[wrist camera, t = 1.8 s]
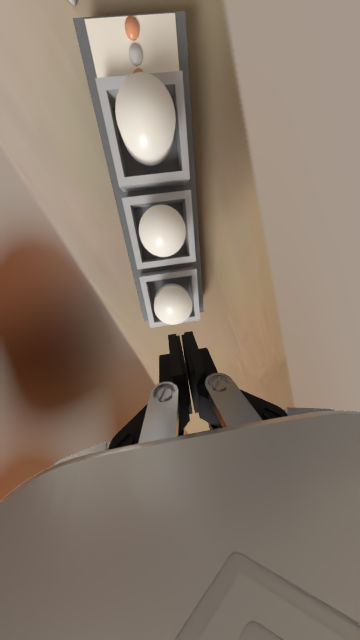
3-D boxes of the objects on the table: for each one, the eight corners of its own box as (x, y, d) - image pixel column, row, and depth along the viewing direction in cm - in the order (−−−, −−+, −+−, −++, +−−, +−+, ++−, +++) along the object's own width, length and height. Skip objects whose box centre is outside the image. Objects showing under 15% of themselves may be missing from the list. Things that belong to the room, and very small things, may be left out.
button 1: (151, 286, 19) (150, 291, 17) (187, 281, 19) (190, 285, 17) (157, 319, 21) (157, 327, 19) (190, 314, 21) (193, 321, 19)
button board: (88, 57, 15) (58, -20, 10) (180, 50, 15) (189, -27, 11) (145, 312, 26) (142, 328, 21) (198, 304, 26) (207, 318, 22)
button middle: (136, 210, 16) (133, 207, 14) (180, 205, 16) (183, 201, 14) (145, 257, 17) (144, 259, 16) (184, 251, 18) (187, 253, 16)
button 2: (114, 97, 13) (107, 74, 11) (169, 92, 13) (171, 69, 11) (128, 168, 14) (124, 158, 13) (176, 163, 15) (178, 152, 13)
